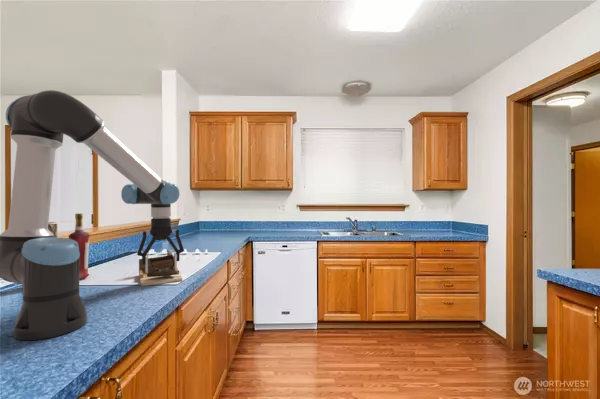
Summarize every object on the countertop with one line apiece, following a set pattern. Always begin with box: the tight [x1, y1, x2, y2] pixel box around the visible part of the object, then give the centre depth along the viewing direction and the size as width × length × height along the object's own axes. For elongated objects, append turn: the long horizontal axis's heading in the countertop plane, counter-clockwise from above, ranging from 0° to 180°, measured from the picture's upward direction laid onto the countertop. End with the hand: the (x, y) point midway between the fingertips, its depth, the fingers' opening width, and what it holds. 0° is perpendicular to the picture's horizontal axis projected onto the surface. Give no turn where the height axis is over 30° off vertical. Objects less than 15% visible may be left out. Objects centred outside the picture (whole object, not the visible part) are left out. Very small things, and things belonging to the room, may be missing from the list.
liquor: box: [68, 213, 91, 281], centre depth 131 cm, size 7×7×28 cm
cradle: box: [138, 249, 183, 287], centre depth 133 cm, size 20×15×10 cm
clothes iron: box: [147, 254, 177, 277], centre depth 127 cm, size 7×11×10 cm, turn 129°
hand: (161, 270), depth 128 cm, fingers closed on clothes iron, 10 cm apart
